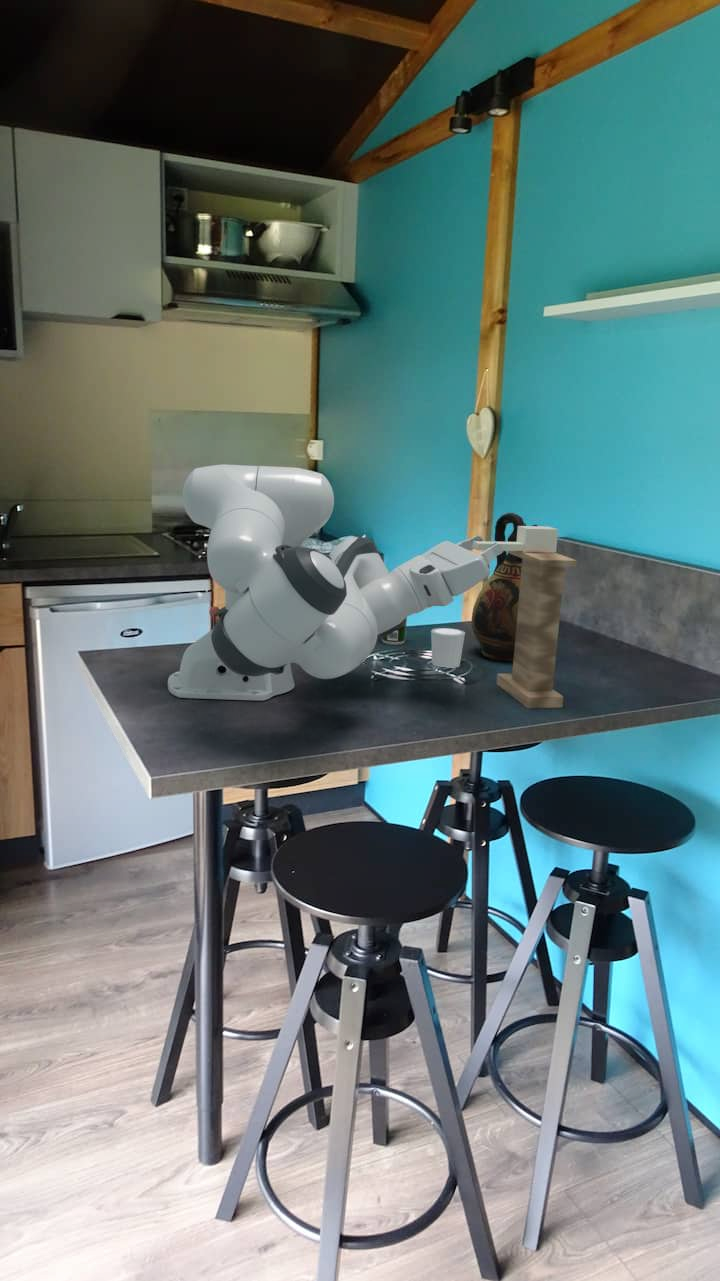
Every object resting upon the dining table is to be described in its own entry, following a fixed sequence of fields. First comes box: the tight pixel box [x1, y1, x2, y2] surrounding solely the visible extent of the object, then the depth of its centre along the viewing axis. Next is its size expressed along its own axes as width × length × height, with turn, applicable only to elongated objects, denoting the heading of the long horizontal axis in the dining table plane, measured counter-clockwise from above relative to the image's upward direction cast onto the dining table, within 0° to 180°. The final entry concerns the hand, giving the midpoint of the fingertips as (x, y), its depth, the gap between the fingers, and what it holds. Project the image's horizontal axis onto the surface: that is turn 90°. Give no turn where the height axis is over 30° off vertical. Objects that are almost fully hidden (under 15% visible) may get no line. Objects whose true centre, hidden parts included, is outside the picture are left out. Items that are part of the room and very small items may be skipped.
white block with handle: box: [472, 525, 559, 553], centre depth 164 cm, size 14×4×4 cm, turn 103°
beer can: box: [380, 618, 408, 646], centre depth 202 cm, size 5×5×12 cm
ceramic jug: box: [471, 512, 538, 663], centre depth 194 cm, size 17×15×30 cm
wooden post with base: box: [496, 551, 578, 709], centre depth 166 cm, size 6×15×26 cm, turn 13°
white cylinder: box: [430, 627, 466, 669], centre depth 186 cm, size 7×7×7 cm
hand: (490, 542), depth 163 cm, fingers open, 8 cm apart
